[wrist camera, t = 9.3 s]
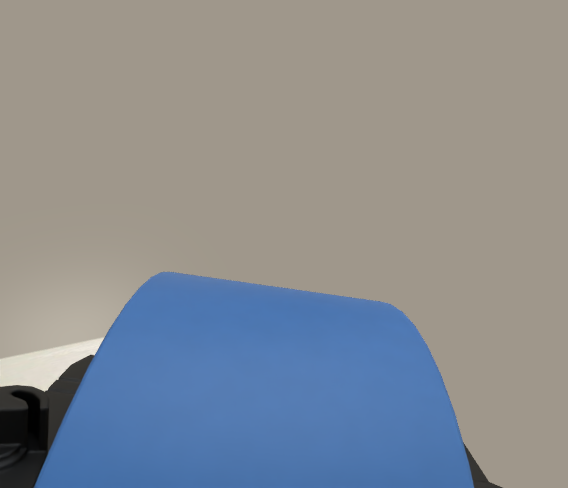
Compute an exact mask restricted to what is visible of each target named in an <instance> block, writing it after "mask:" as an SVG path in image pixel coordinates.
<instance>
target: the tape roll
mask: <svg viewBox="0 0 568 488" xmlns="http://www.w3.org/2000/svg"><path fill="white" fill-rule="evenodd" d="M34 488H474V484H473V480H472V475H471V471H470V466H469V462H468V458H467V455H466V451H465V448H464V444H463V441H462V437H461V434H460V430H459V426H458V423H457V420H456V416H455V413H454V410H453V407H452V404H451V401H450V399H449V396H448V393H447V390H446V388H445V385H444V382H443V379H442V376H441V374H440V372H439V370H438V367H437V365H436V363H435V361H434V359H433V357H432V355H431V352H430V350H429V348H428V346H427V344H426V343H425V341H424V340H423V338H422V337H421V335H420V333H419V332H418V330H417V329H416V327H415V325H414V324H413V323H412V322H411V321H410V320H409V319H408V318H407V316H406V315H405V314H404V313H403V312H402V311H400V310H398V309H397V308H396V307H394V306H393V305H391V304H388V303H384V302H380V301H373V300H366V299H358V298H351V297H344V296H337V295H330V294H323V293H316V292H309V291H302V290H295V289H288V288H280V287H273V286H266V285H258V284H251V283H245V282H237V281H231V280H224V279H217V278H210V277H202V276H195V275H188V274H181V273H174V272H161V273H159V274H157V275H155V276H153V277H151V278H150V279H149V280H148V281H147V282H145V283H144V284H143V285H142V286H141V287H140V288H139V289H138V290H137V292H136V293H135V294H134V295H133V296H132V298H131V299H130V300H129V301H128V302H127V304H126V305H125V306H124V308H123V310H122V311H121V313H120V314H119V316H118V317H117V319H116V320H115V322H114V323H113V325H112V326H111V328H110V329H109V331H108V333H107V335H106V336H105V338H104V340H103V342H102V343H101V345H100V347H99V349H98V350H97V352H96V354H95V356H94V358H93V359H92V361H91V363H90V365H89V367H88V369H87V371H86V373H85V375H84V377H83V379H82V381H81V383H80V385H79V387H78V389H77V391H76V393H75V395H74V397H73V399H72V401H71V404H70V406H69V408H68V410H67V412H66V414H65V416H64V418H63V420H62V423H61V425H60V427H59V430H58V432H57V434H56V437H55V439H54V441H53V443H52V446H51V448H50V450H49V453H48V455H47V457H46V460H45V462H44V464H43V467H42V469H41V471H40V474H39V476H38V478H37V481H36V483H35V486H34Z"/></svg>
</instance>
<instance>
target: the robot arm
mask: <svg viewBox="0 0 568 488" xmlns="http://www.w3.org/2000/svg"><path fill="white" fill-rule="evenodd" d="M94 356H95V355H89V356H87V357H85V358H83V359H81V360H79V361H77V362H76V363H74V364H72V365H71V366H70V367H69V368H68V369H67V370H66V371H65V372H64V373H63V374H62V375H61V376H60V377H59V380H56V381H55V382H54V383H53V384H52V385H51V386H50V387H49V389H48V391H45V392H44V391H42V390H39V389H37V388H34V387H31V386H20V385H14V386H5V387H0V488H34V486H35V483H36V481H37V478H38V476H39V474H40V471H41V469H42V467H43V464H44V462H45V460H46V457H47V455H48V453H49V450H50V448H51V446H52V443H53V441H54V439H55V437H56V434H57V432H58V430H59V427H60V425H61V423H62V420H63V418H64V416H65V414H66V412H67V410H68V408H69V406H70V404H71V401H72V399H73V397H74V395H75V393H76V391H77V389H78V387H79V385H80V383H81V381H82V379H83V377H84V375H85V373H86V371H87V369H88V367H89V365H90V363H91V361H92V359H93V358H94ZM463 444H464V443H463ZM464 448H465V451H466V455H467V458H468V462H469V466H470V471H471V475H472V480H473V484H474V488H502V487H500V486H497V485H495V484H492V483H490V482H489V481H488V480H487V478H486V477H485V475H484V474H483V472H482V470H481V469H480V468H479V466H478V464H477V463H476V461H475V460H474V458H473V457H472V455H471V454H470V452H469V451H468V449H467V448H466V446H465V444H464Z"/></svg>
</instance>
